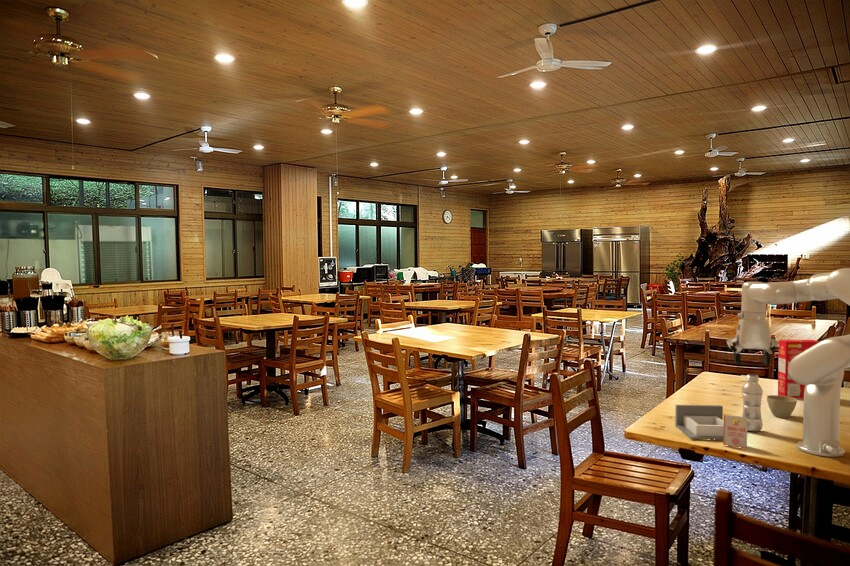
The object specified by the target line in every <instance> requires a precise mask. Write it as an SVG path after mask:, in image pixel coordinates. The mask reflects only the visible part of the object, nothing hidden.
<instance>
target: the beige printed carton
mask: <svg viewBox="0 0 850 566" xmlns="http://www.w3.org/2000/svg"><path fill="white" fill-rule="evenodd" d="M723 421H724V430H723V441H722V442H723V443H722V446H723V445H728V446H734V447H741V448H740V449H742V448H747V449H748V430H747V417H743V416H741V415H739V416H738V415H731V414H724V415H723ZM734 447H733V448H734Z"/></svg>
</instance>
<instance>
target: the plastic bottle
mask: <svg viewBox="0 0 850 566" xmlns="http://www.w3.org/2000/svg"><path fill="white" fill-rule="evenodd" d="M759 378H760V377H759V375H757V374H746V376H745V380H746V382H745V383H744V384H743V385H742V386H741V395H742V406H743V410H742V417H747V432H748V431H749V432H760V431H762V429H763V426H764V425H763V419H762V413H761V412H762V411H761V407H762V399H763V394H764V393H763V392H764V391H763V388H762V386H761V384H760V383H759V381H760V380H759Z"/></svg>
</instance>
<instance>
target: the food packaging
mask: <svg viewBox="0 0 850 566" xmlns="http://www.w3.org/2000/svg"><path fill="white" fill-rule="evenodd" d="M778 342H779V344H778V364H777V366H778V368H777V369H778V371H777V395H779V396H787V397H792V398H804V390H805V386H806V385H802V384H799V383H797V382H795V381H794V380H793V379H792V378H791V377H790V375H789V372H788V366H789V363H790V362H791V360H792V359H793V358H794V357H795V356H797V355H798V354H800V353H802V352H804V351H805V350H807V349H809V348H810V347H812V346H814V345H815V344H817V343H819V342H821V341H820V340H817V339H816V340H815V339H778Z"/></svg>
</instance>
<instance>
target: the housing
mask: <svg viewBox="0 0 850 566" xmlns="http://www.w3.org/2000/svg"><path fill="white" fill-rule="evenodd" d="M723 411H724V410H723V406H722V405H719V404H713V405H711V404H708V405H707V404H675V415H674V416H675V420H674V424H675V425H674V427H676V428H677V429H678V428H679V429H680V430H681V431H682V432H681V431H680V430H679V429H678V430H679V431H680V432H681V433H682V434H684V433H685V434H686V435H687V436H688V437H689V438H688V439H690V440H691V439H710V440H709V441H713V440H714V439H715V440H723V430H724V415H723V414H724V412H723ZM685 434H684V435H685ZM686 435H685V436H686ZM687 436H686V437H687Z"/></svg>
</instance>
